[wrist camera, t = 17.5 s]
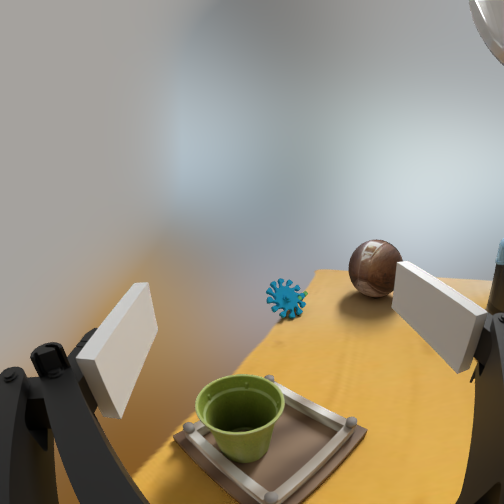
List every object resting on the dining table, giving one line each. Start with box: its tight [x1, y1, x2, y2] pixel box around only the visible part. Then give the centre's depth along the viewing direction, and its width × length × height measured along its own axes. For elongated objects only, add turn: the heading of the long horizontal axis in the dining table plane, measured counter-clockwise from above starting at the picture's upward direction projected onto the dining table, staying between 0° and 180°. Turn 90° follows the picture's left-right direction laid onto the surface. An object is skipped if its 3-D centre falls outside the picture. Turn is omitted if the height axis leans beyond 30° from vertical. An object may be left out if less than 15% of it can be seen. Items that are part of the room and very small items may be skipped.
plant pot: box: [195, 374, 285, 463], centre depth 28 cm, size 9×9×9 cm
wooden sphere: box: [349, 240, 403, 297], centre depth 70 cm, size 15×15×15 cm
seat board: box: [173, 375, 368, 504], centre depth 30 cm, size 18×18×4 cm
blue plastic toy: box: [266, 279, 308, 318], centre depth 68 cm, size 11×6×10 cm
